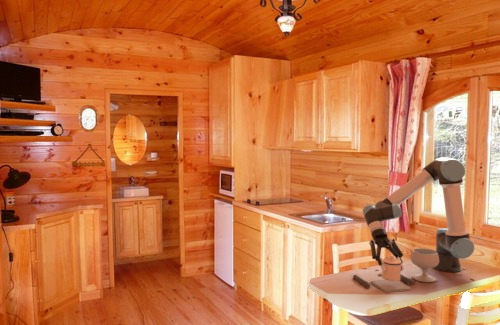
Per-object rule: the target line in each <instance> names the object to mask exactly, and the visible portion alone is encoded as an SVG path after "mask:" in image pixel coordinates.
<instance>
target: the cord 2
mask: <svg viewBox="0 0 500 325" xmlns="http://www.w3.org/2000/svg"><path fill="white" fill-rule="evenodd" d="M400 281H402V282H404V283H406V284H408V285H410V286H412V285H414V281H413V280H411V279H410V278H408V277H406V276H405V275H403V274H401V276H400Z"/></svg>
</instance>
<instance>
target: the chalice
mask: <svg viewBox="0 0 500 325" xmlns="http://www.w3.org/2000/svg"><path fill="white" fill-rule="evenodd" d="M410 261H411V263H412V264H413V265H415V266H416V267H418V268H419V269H420V270H421V271H422V273H421V274H419V273H416V274H414V275H412V276H411V278H412V279H413V280H415V281H419V282H422V283H434V282H437V281H438V280H437V278H436V277H434V276H432V275H428V274H427V272H428V270H430V269H434V268H433V267H436V266H437V265H438V264H439V256H438V254H437V252H436V250H433V249H430V248H414V249H413V250H412V252H411V254H410Z"/></svg>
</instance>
